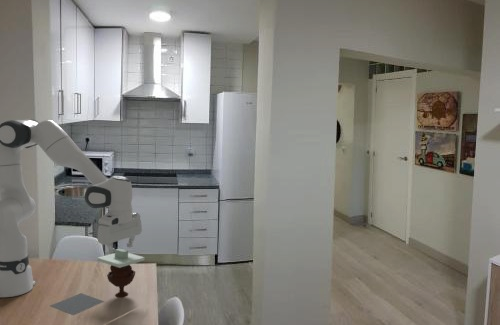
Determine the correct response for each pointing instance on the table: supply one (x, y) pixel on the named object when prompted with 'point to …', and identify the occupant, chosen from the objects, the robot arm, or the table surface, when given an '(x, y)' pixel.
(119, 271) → the ice cream bowl
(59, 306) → the mat
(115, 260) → the lid
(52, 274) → the table surface
